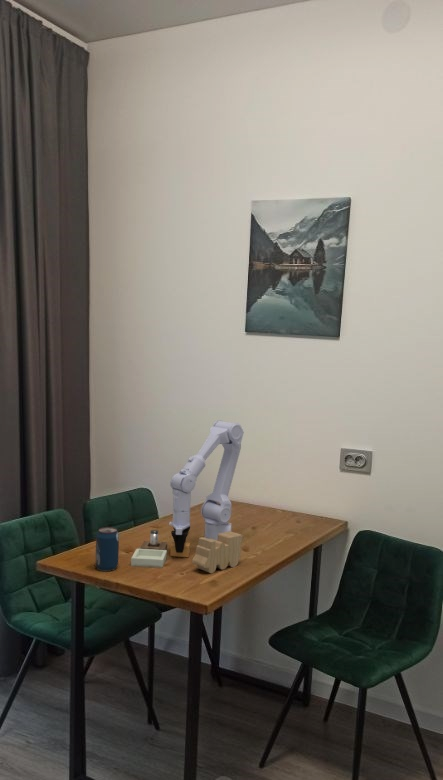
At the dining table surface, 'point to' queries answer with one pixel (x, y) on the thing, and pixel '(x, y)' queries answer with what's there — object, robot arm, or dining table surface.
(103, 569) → the soda can
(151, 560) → the tray
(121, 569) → the dining table surface
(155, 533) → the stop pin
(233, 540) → the toy train
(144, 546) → the socket block
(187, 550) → the block
